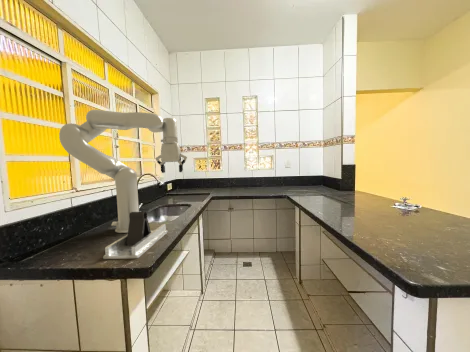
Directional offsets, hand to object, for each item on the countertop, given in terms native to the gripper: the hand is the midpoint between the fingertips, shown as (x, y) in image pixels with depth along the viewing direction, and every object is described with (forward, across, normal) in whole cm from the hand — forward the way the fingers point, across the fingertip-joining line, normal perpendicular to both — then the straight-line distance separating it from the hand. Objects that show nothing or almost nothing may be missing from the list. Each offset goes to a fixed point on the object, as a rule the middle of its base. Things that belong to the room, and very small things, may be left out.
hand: (172, 172), depth 112 cm
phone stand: (+28, -4, -30) cm, 41 cm away
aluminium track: (+28, -4, -30) cm, 41 cm away
